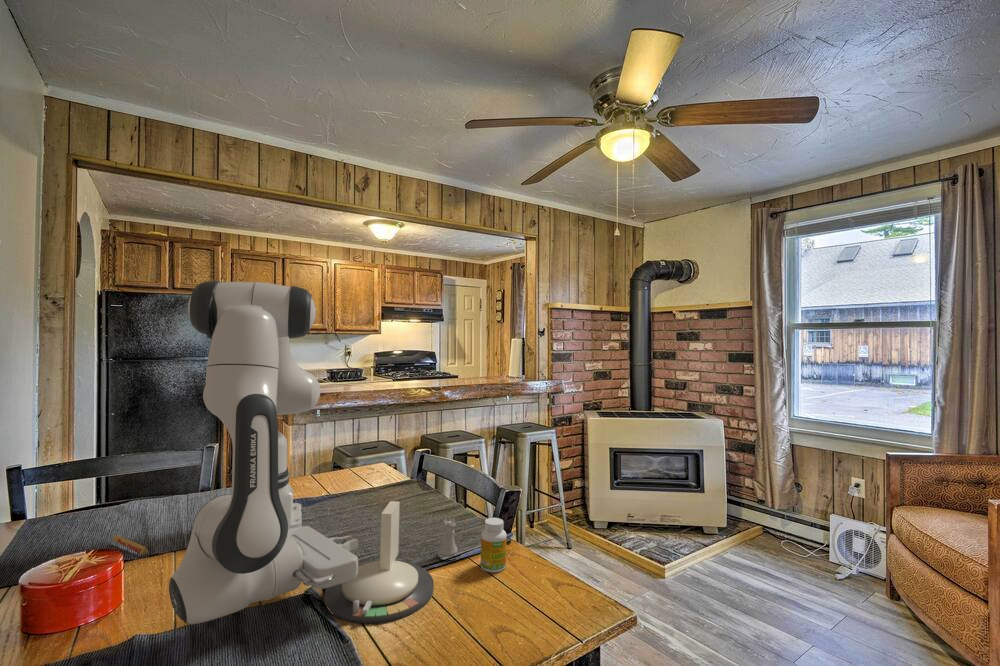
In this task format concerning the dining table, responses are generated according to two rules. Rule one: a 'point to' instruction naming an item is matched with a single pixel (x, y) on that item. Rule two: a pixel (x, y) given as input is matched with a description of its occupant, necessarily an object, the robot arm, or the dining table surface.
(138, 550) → the chocolate bar
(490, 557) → the supplement bottle
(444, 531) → the rook chess piece
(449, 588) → the dining table surface
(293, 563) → the robot arm
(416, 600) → the base
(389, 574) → the peg dial
